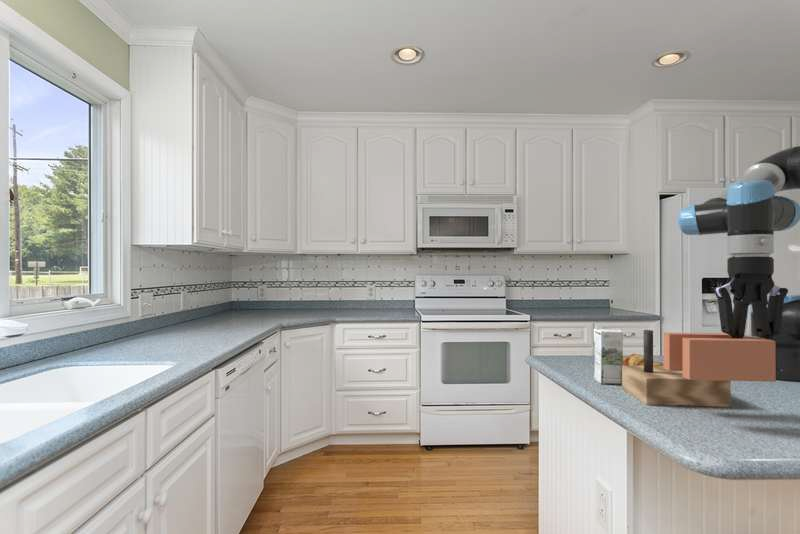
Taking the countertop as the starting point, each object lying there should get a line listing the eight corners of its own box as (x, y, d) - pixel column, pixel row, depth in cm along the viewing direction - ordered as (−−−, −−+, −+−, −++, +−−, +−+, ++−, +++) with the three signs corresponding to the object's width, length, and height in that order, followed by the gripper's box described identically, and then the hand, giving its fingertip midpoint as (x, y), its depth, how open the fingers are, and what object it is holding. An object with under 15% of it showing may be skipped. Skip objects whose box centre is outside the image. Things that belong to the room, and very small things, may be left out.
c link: (739, 369, 94) (739, 333, 94) (775, 381, 84) (775, 341, 84) (663, 368, 95) (663, 332, 95) (689, 379, 85) (689, 339, 85)
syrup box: (614, 379, 119) (614, 327, 119) (623, 385, 113) (623, 330, 113) (593, 378, 120) (593, 327, 120) (601, 384, 114) (600, 330, 114)
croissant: (686, 397, 114) (692, 369, 116) (670, 385, 109) (678, 356, 111) (609, 378, 132) (616, 354, 134) (593, 367, 127) (600, 342, 129)
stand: (695, 390, 108) (695, 327, 108) (730, 406, 95) (730, 335, 95) (621, 388, 110) (621, 326, 110) (646, 404, 97) (646, 334, 97)
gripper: (722, 255, 86) (722, 372, 86) (805, 255, 85) (806, 373, 84) (699, 256, 93) (699, 363, 93) (775, 256, 92) (776, 365, 92)
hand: (750, 368), depth 89 cm, fingers closed on c link, 2 cm apart
